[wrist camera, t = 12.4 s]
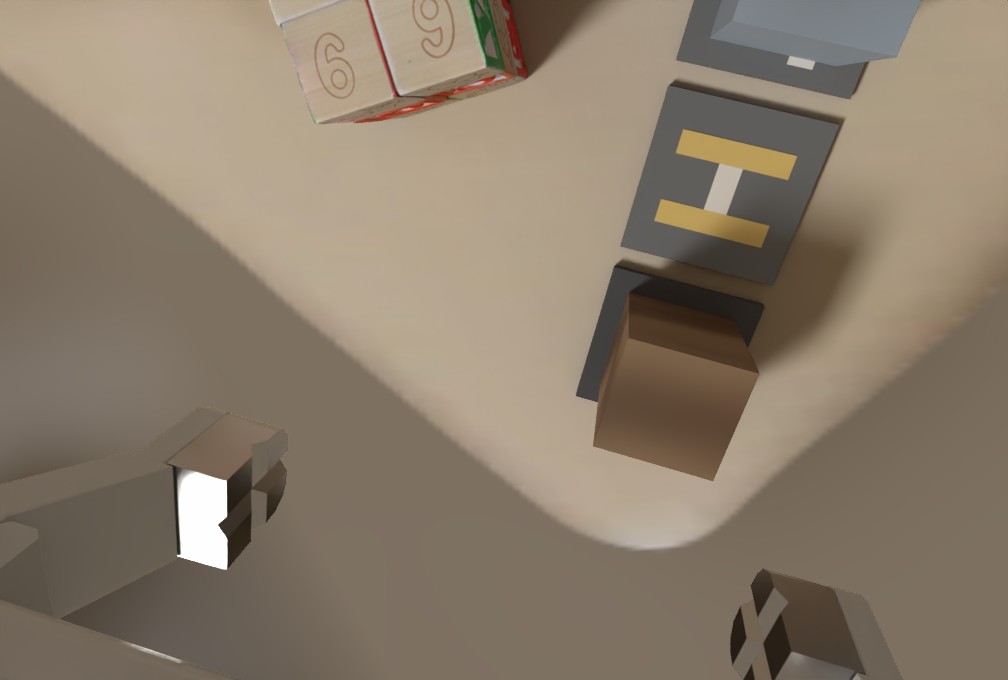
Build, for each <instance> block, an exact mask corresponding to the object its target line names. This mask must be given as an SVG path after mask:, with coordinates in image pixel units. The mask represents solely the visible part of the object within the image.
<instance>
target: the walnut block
mask: <svg viewBox="0 0 1008 680" xmlns="http://www.w3.org/2000/svg"><path fill="white" fill-rule="evenodd" d="M758 376H759V372H758V370H757V367H756V365H755V363H754V361H753V359H752V357H751V355H750V352H749V350H748V348H747V346H746V344H745V342H744V339H743V337H742V335H741V333H740V331H739V329H738V327H737V324H736V322H735V320H732V319H728V318H724V317H720V316H717V315H713V314H709V313H705V312H702V311H698V310H694V309H690V308H687V307H683V306H679V305H675V304H671V303H668V302H664V301H660V300H656V299H653V298H649V297H645V296H641V295H638V294H634V293H630V292H629V294H628V297H627V300H626V303H625V306H624V310H623V313H622V316H621V319H620V322H619V325H618V329H617V332H616V335H615V338H614V341H613V344H612V348H611V351H610V354H609V357H608V360H607V363H606V367H605V370H604V373H603V376H602V379H601V382H600V389H599V398H598V407H597V416H596V425H595V434H594V443H593V446H594V447H598V448H601V449H605V450H608V451H612V452H615V453H618V454H622V455H625V456H629V457H632V458H636V459H639V460H642V461H646V462H649V463H653V464H656V465H660V466H663V467H666V468H670V469H673V470H677V471H680V472H684V473H687V474H690V475H694V476H697V477H701V478H704V479H708V480H711V481H713V480H714V478H715V475H716V473H717V471H718V468H719V466H720V464H721V462H722V459H723V457H724V455H725V452H726V450H727V448H728V445H729V443H730V441H731V438H732V436H733V434H734V432H735V429H736V427H737V425H738V422H739V420H740V418H741V415H742V413H743V411H744V408H745V406H746V404H747V401H748V399H749V397H750V395H751V392H752V390H753V388H754V385H755V383H756V381H757V378H758Z"/></svg>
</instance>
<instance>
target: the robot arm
mask: <svg viewBox="0 0 1008 680" xmlns="http://www.w3.org/2000/svg"><path fill="white" fill-rule="evenodd" d="M287 451H288V434H287V433H286V432H285V431H284V429H281V428H278V427H275V426H271V425H268V424H265V423H262V422H259V421H255V420H252V419H249V418H246V417H243V416H240V415H236V414H233V413H232V414H231V413H229V412H225V411H222V410H219V409H216V408H213V407H209V406H202V407H197V408H196V409H195V410H193V411H192V412H191V413H189V414H188V415H187V416H185V417H184V418H183V419H181V420H180V421H179V422H177V423H176V424H175V425H173V426H172V427H171V428H169V429H168V430H167V431H165V432H164V433H163V434H161V435H160V436H159V437H157V438H156V439H155V440H153V441H152V442H151V443H149V444H148V445H147V446H145V447H144V448H143V449H141V450H140V451H138V452H137V453H136V454H134V455H133V454H130V453H126V452H125V453H121V454H117V455H114V456H109V457H106V458H102V459H98V460H94V461H90V462H86V463H83V464H78V465H75V466H70V467H67V468H63V469H59V470H55V471H51V472H47V473H44V474H39V475H36V476H32V477H28V478H24V479H20V480H16V481H12V482H8V483H4V484H0V680H239V679H236V678H233V677H230V676H227V675H224V674H221V673H218V672H215V671H212V670H209V669H206V668H203V667H200V666H197V665H194V664H191V663H188V662H185V661H182V660H179V659H176V658H173V657H171V656H168V655H165V654H162V653H158V652H156V651H153V650H150V649H147V648H144V647H141V646H137V645H135V644H132V643H129V642H126V641H123V640H120V639H117V638H114V637H111V636H108V635H105V634H102V633H99V632H96V631H93V630H90V629H87V628H84V627H81V626H78V625H75V624H72V623H69V622H66V621H63V620H60V619H59V618H61V617H63V616H65V615H67V614H69V613H71V612H73V611H75V610H77V609H79V608H81V607H83V606H85V605H87V604H89V603H91V602H93V601H95V600H96V599H99V598H101V597H103V596H105V595H107V594H109V593H111V592H113V591H115V590H117V589H119V588H121V587H123V586H125V585H127V584H129V583H130V582H133V581H134V580H137V579H139V578H140V577H142V576H145V575H146V574H149V573H150V572H152V571H154V570H156V569H158V568H160V567H162V566H164V565H166V564H168V563H170V562H172V561H174V560H176V559H177V558H178V556H180V557H183V558H187V559H190V560H194V561H197V562H201V563H205V564H208V565H211V566H215V567H218V568H222V569H225V570H227V569H228V568H229V567H230V566H231V564H232V563H233V562H234V561H235V559H236V558H237V557H238V556H239V555H240V554H241V552H242V551H243V550H244V549H245V548H246V546H247V545H248V544H249V543H250V542H251V529H252V528H255V527H257V526H260V525H262V524H265V523H266V522H267V521H268V520H269V519H270V517H271V516H272V515H273V513H274V512H275V511H276V509H277V507H278V505H279V503H280V501H281V499H282V497H283V494H284V489H285V485H286V478H287V470H286V469H285V467H284V465H283V464H282V462H281V460H280V458H281V457H282V456H283V455H284V454H285V453H286V452H287ZM751 590H752V594H753V598H754V599H753V600H751V601H749V602H747V603H744V604H742V605H741V606H740V608H739V610H738V612H737V615H736V617H735V619H734V621H733V627H732V632H731V637H730V653H731V660H732V666H733V668H734V669H735V670H736V671H737V673H738V674H739V676H740V677H741V678H742V679H743V680H903V679H902V677H901V675H900V672H899V670H898V668H897V666H896V663H895V661H894V659H893V657H892V654H891V652H890V650H889V648H888V646H887V643H886V641H885V639H884V637H883V634H882V632H881V630H880V628H879V625H878V623H877V621H876V619H875V616H874V614H873V612H872V610H871V608H870V605H869V603H868V601H867V600H866V599H865V598H864V597H863V596H862V595H861V594H857V593H853V592H849V591H846V590H842V589H838V588H834V587H831V586H823V585H820V584H816V583H813V582H810V581H806V580H802V579H799V578H795V577H792V576H788V575H785V574H781V573H778V572H774V571H771V570H767V569H764V568H763V569H762V570H761V571H760V572H758V573H757V575H756V576H755V578H754V580H753V582H752V584H751Z"/></svg>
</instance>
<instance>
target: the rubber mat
mask: <svg viewBox="0 0 1008 680" xmlns="http://www.w3.org/2000/svg"><path fill="white" fill-rule="evenodd" d="M629 292H630V293H634V294H638V295H641V296H645V297H649V298H653V299H656V300H660V301H664V302H668V303H671V304H675V305H679V306H683V307H687V308H690V309H694V310H698V311H702V312H705V313H709V314H713V315H717V316H720V317H724V318H728V319H732V320H735V322H736V324H737V327H738V329H739V331H740V333H741V335H742V337H743V339H744V342H745V344H746V346H747V348H748V346H749V343H750V341H751V338H752V336H753V334H754V331H755V329H756V326H757V324H758V322H759V319H760V317H761V314H762V312H763V310H764V307H765V306H764V305H763V304H761V303H757V302H753V301H749V300H746V299H742V298H738V297H734V296H730V295H727V294H723V293H719V292H715V291H711V290H708V289H704V288H700V287H696V286H692V285H688V284H685V283H681V282H677V281H673V280H669V279H666V278H662V277H658V276H654V275H650V274H647V273H643V272H639V271H635V270H631V269H627V268H624V267H620V266H616V265H615V266H614V269H613V273H612V276H611V279H610V283H609V286H608V289H607V293H606V296H605V299H604V303H603V306H602V309H601V313H600V316H599V319H598V323H597V326H596V329H595V333H594V336H593V339H592V343H591V346H590V349H589V353H588V356H587V359H586V363H585V366H584V369H583V373H582V376H581V379H580V383H579V386H578V389H577V393H576V396H578V397H581V398H585V399H588V400H592V401H595V402H598V398H599V389H600V382H601V379H602V376H603V373H604V370H605V367H606V363H607V360H608V357H609V354H610V351H611V348H612V344H613V341H614V338H615V335H616V332H617V329H618V325H619V322H620V319H621V316H622V313H623V310H624V306H625V303H626V300H627V297H628V294H629Z"/></svg>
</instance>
